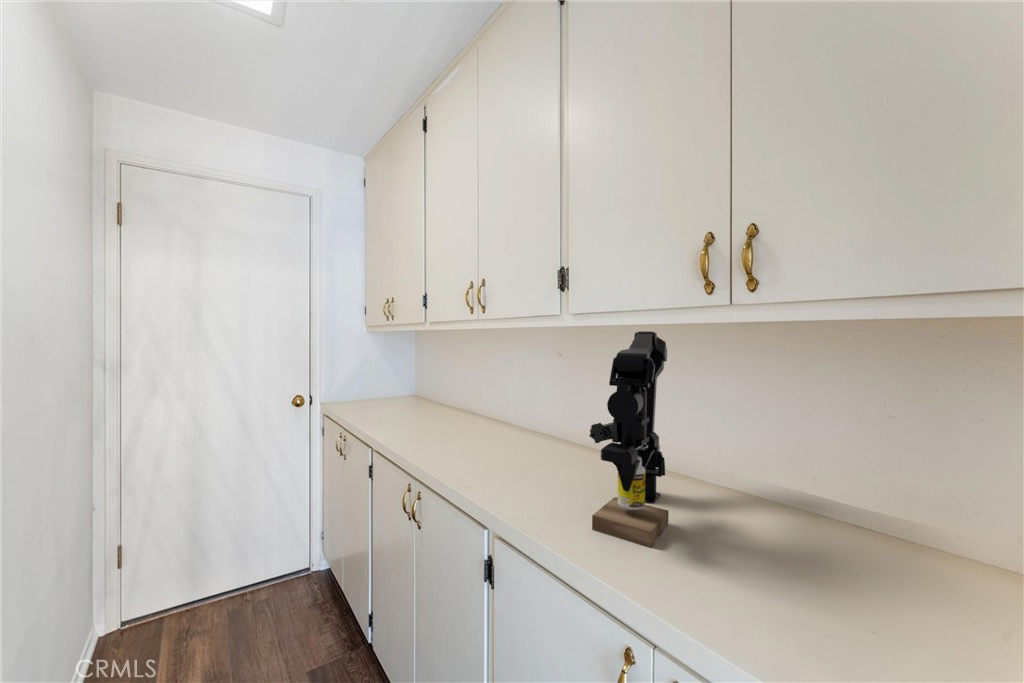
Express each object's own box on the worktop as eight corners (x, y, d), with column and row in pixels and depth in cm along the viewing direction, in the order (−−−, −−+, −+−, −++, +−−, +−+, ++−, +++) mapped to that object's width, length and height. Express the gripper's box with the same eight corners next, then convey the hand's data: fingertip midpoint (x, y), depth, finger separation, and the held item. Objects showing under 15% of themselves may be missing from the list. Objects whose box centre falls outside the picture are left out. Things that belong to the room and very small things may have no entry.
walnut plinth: (614, 510, 94) (614, 497, 94) (668, 524, 87) (668, 510, 87) (592, 529, 84) (592, 515, 84) (650, 547, 77) (650, 532, 77)
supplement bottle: (632, 513, 81) (633, 462, 81) (611, 503, 86) (612, 455, 86) (650, 507, 85) (651, 458, 84) (629, 498, 89) (630, 451, 89)
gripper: (612, 402, 97) (611, 467, 98) (576, 414, 82) (576, 491, 82) (660, 407, 91) (659, 477, 91) (631, 421, 76) (630, 505, 76)
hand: (631, 486), depth 85 cm, fingers closed on supplement bottle, 6 cm apart
